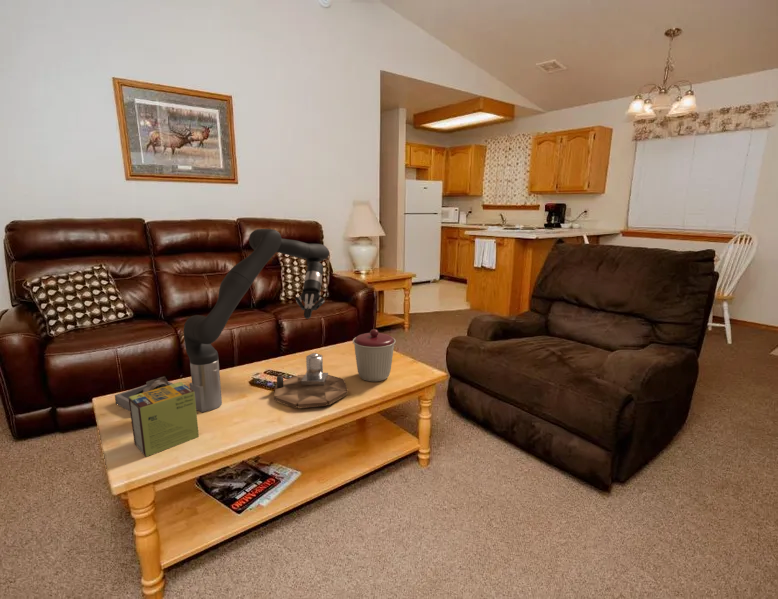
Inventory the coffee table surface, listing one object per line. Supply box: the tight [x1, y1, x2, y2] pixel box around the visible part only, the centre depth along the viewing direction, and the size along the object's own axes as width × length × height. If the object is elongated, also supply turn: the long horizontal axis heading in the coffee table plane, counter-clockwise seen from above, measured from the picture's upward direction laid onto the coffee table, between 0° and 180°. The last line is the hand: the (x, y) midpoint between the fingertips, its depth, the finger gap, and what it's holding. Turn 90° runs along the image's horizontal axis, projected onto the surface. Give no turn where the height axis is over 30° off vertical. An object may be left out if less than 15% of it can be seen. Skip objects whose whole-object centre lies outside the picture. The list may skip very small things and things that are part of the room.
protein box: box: [128, 381, 200, 458], centre depth 126 cm, size 10×15×16 cm
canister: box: [352, 328, 397, 382], centre depth 175 cm, size 18×18×21 cm
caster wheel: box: [136, 376, 169, 395], centre depth 152 cm, size 7×11×10 cm
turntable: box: [273, 374, 349, 409], centre depth 160 cm, size 27×27×5 cm
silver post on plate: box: [301, 352, 329, 385], centre depth 166 cm, size 9×9×11 cm
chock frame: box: [114, 380, 174, 412], centre depth 153 cm, size 17×15×4 cm
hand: (307, 317), depth 172 cm, fingers closed
